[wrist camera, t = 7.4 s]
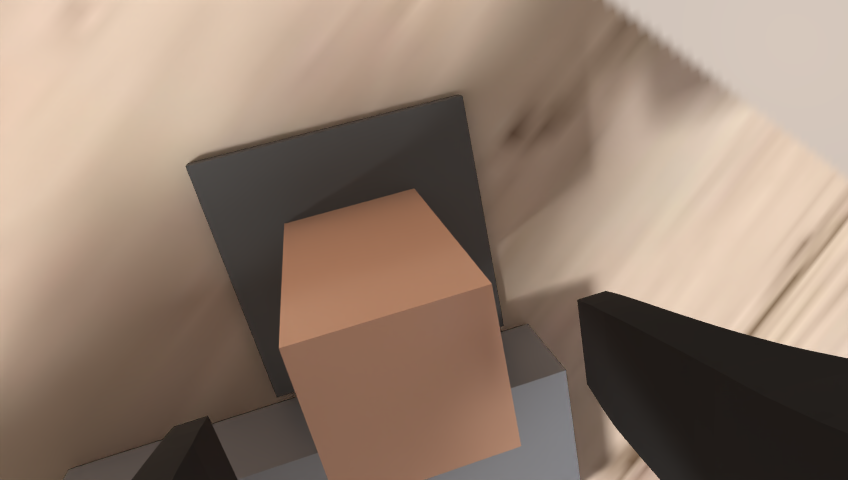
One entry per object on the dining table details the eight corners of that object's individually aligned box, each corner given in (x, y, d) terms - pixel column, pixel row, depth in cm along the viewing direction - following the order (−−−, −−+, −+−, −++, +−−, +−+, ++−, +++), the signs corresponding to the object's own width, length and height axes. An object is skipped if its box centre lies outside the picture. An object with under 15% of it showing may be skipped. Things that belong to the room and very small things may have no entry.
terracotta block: (414, 188, 16) (491, 284, 10) (439, 301, 18) (521, 446, 12) (284, 223, 16) (278, 348, 10) (321, 337, 17) (338, 509, 11)
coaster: (458, 94, 16) (462, 95, 16) (499, 320, 19) (503, 325, 19) (188, 163, 15) (185, 166, 15) (277, 390, 18) (277, 397, 18)
